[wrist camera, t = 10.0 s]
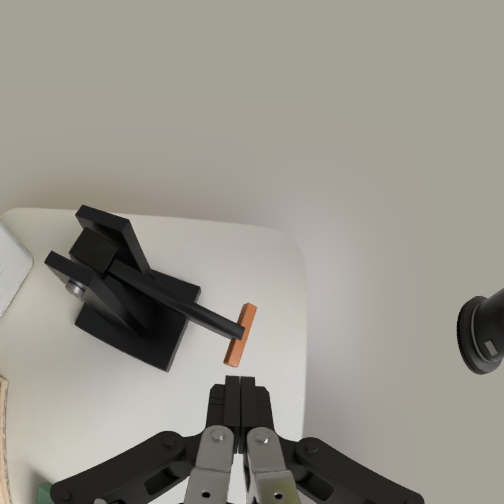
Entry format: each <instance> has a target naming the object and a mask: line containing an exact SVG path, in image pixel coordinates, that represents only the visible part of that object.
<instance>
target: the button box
mask: <svg viewBox="0 0 504 504" xmlns="http://www.w3.org/2000/svg"><path fill="white" fill-rule="evenodd" d="M51 486H52V485H51V484H50V483H45V484H41V485H38V490H37V497H36V504H54V503H53V501H52V500H51V498H50V488H51Z"/></svg>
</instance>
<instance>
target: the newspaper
mask: <svg viewBox="0 0 504 504" xmlns="http://www.w3.org/2000/svg"><path fill="white" fill-rule="evenodd" d="M7 386H8V381H7V380H5V379H3V378H2V377H0V504H12V502H11V497H10V491H9V484H8V477H7V467H6V454H5V410H6V396H7Z"/></svg>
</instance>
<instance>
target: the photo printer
mask: <svg viewBox="0 0 504 504" xmlns="http://www.w3.org/2000/svg"><path fill="white" fill-rule="evenodd" d="M32 266H33V257H32V255H31V254H30V253H29V252H28V251H27V250H26V249H25V248H24V247H23V245H22V244H21V243H20V242H19V241H18V240H17V239H16V238H15V236H14V235H13V234H12V233H11V232H10V231H9V229H8V228H7V227H6V226H5V225H4V223H3V222H2V221H1V220H0V317H1V316H2V315H3V314H4V312H5V310H6V309H7V307H8V305H9V304H10V302H11V300H12V299H13V297H14V296H15V294H16V292H17V291H18V289H19V287H20V286H21V284H22V282H23V281H24V279H25V278H26V276H27V274H28V273H29V271H30V270H31V268H32Z"/></svg>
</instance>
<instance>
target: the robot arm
mask: <svg viewBox="0 0 504 504" xmlns="http://www.w3.org/2000/svg"><path fill="white" fill-rule="evenodd" d="M470 335H471V341H472V344H473V347H474V350H475V352H476V354H477V355H478V357H479V358H480V359H481V360H482V361H483V362H485V363H489V364H490V363H493V362H496V361H497V360H499V359H501V358H503V357H504V288H503V289H501V290H500V291H498V292H497V293H496V294H494V295H493V296H491V297H490V298H488V299H487V300H485V301H483V302H481V303H479V304H478V305H476V306H475V307H474V309H473V311H472V313H471V317H470ZM237 449H238V454H243V475H244V482H245V489H246V504H301V502H300V499H299V495H298V492H297V490H299V491H300V492H302V493H303V494H304V495H306V496H307V497H309V498H310V499H312V500H313V501H314V502H316V503H317V504H425V503H424V499H423V497H422V496H421V495H420V494H418V493H416V492H414V491H412V490H409V489H407V488H405V487H403V486H401V485H399V484H397V483H395V482H393V481H391V480H389V479H386V478H385V477H383V476H381V475H379V474H377V473H375V472H373V471H371V470H369V469H368V468H366V467H364V466H362V465H361V464H359V463H357V462H355V461H354V460H352V459H350V458H348V457H347V456H345V455H344V454H342V453H340V452H339V451H337V450H336V449H334V448H332V447H331V446H329V445H328V444H326V443H324V442H323V441H321V440H320V439H317V438H313V437H307V438H303V439H301V440H300V441H299V442H295V441H290V440H286V439H284V438H282V437H280V436H279V435H278V434H277V433H276V432H275V430H274V424H273V417H272V410H271V403H270V396H269V392H268V391H267V390H266V388H265V387H263V386H255V377H245V376H241V377H240V376H228V375H226V379H225V385H223V384H215V385H214V386H213V387H212V388H211V390H210V395H209V403H208V411H207V419H206V426H205V429H204V430H203V431H202V432H201V433H199V434H197V435H195V436H189V437H182V436H181V435H180V434H178V433H176V432H173V431H163V432H160V433H158V434H156V435H154V436H153V437H151V438H149V439H147V440H146V441H144V442H142V443H140V444H138V445H137V446H135V447H133V448H131V449H129V450H127V451H125V452H123V453H121V454H119V455H117V456H115V457H113V458H111V459H109V460H107V461H105V462H103V463H101V464H99V465H97V466H95V467H92V468H90V469H88V470H86V471H84V472H81V473H79V474H77V475H74V476H72V477H69V478H67V479H64V480H62V481H59V482H57V483H55V484H53V485H52V486H51V488H50V498H51V500H52V501H53V503H54V504H148V503H149V502H151V501H153V500H154V499H156V498H157V497H159V496H161V495H162V494H164V493H165V492H167V491H168V490H170V489H171V488H173V487H174V486H176V485H177V484H179V483H180V482H182V481H183V480H185V479H186V478H187V477H188V476H190V477H189V481H188V486H187V490H186V494H185V498H184V502H183V503H179V504H232V503H228V502H227V500H228V491H229V482H230V474H231V466H232V464H233V458H234V454H237Z"/></svg>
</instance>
